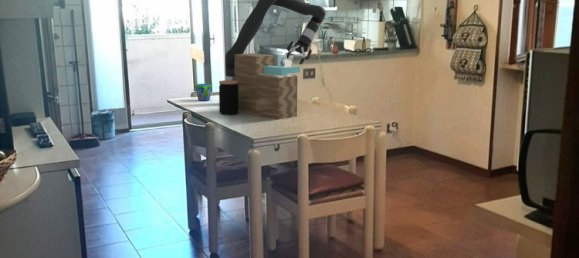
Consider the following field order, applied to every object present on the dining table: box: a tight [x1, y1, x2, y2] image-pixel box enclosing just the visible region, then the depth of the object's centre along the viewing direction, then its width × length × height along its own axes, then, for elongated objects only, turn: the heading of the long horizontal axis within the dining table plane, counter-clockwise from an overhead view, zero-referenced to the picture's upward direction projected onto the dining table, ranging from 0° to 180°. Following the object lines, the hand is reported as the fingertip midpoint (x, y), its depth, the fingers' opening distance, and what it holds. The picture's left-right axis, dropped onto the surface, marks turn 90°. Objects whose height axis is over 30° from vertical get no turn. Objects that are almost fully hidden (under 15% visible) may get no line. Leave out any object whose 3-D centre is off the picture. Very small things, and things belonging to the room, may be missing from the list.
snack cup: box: [194, 83, 213, 102], centre depth 358 cm, size 16×10×10 cm
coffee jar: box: [218, 79, 240, 116], centre depth 313 cm, size 11×11×18 cm
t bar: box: [264, 65, 301, 76], centre depth 310 cm, size 19×14×4 cm
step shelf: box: [235, 53, 298, 120], centre depth 313 cm, size 14×36×32 cm, turn 45°
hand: (293, 61), depth 332 cm, fingers open, 8 cm apart
